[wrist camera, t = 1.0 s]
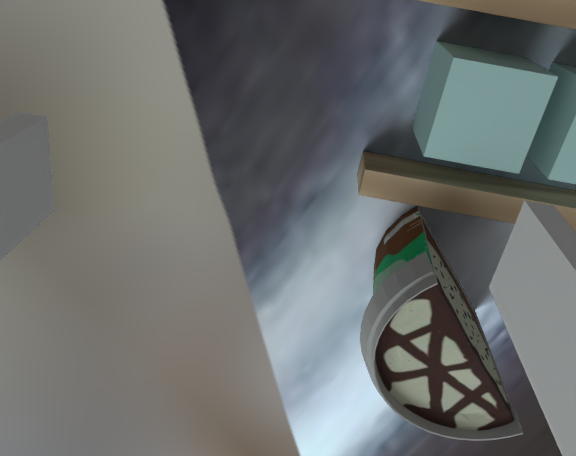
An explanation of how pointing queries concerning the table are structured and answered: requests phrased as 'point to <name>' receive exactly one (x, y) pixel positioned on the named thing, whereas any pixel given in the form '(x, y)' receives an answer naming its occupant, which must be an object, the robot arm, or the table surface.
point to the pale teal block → (481, 107)
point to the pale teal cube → (558, 129)
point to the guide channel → (461, 183)
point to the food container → (431, 341)
